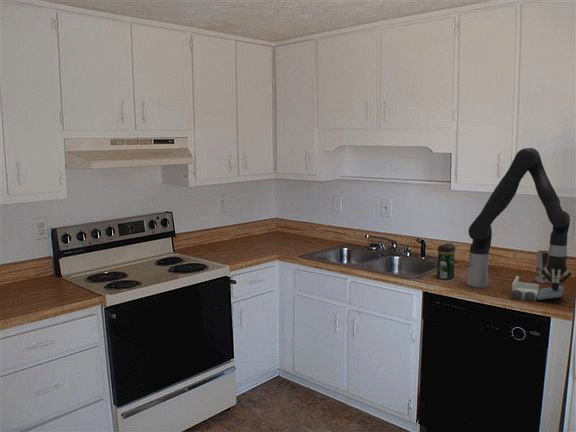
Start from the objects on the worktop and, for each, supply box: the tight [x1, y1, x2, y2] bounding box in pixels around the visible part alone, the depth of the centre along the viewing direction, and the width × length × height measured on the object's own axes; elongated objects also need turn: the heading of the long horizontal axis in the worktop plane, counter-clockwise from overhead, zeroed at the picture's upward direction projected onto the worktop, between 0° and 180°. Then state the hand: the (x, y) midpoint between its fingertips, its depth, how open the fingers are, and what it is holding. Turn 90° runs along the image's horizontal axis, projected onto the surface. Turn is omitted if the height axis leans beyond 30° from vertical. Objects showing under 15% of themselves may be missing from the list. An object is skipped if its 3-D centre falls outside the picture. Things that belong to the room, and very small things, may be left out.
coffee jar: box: [436, 243, 456, 280], centre depth 279 cm, size 10×8×19 cm
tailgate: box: [536, 285, 564, 301], centre depth 243 cm, size 1×16×10 cm
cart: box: [510, 275, 540, 302], centre depth 248 cm, size 10×17×7 cm, turn 150°
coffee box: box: [534, 250, 557, 284], centre depth 270 cm, size 9×6×16 cm
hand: (555, 290), depth 242 cm, fingers closed
